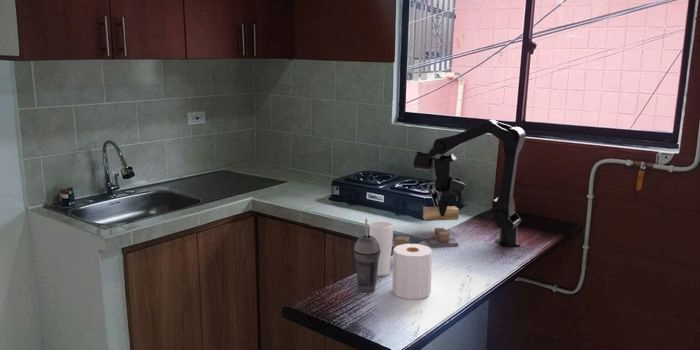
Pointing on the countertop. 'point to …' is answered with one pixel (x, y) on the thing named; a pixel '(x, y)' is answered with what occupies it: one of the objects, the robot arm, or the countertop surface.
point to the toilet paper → (412, 271)
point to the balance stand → (441, 238)
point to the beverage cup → (366, 262)
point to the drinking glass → (383, 244)
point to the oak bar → (434, 213)
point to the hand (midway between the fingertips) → (440, 214)
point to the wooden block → (401, 240)
